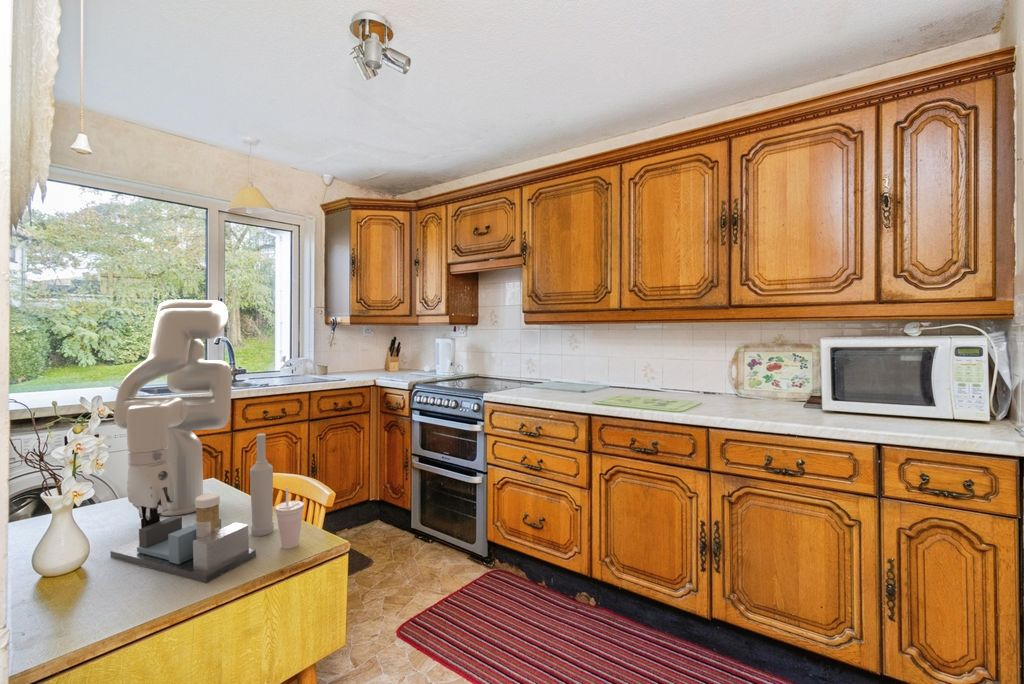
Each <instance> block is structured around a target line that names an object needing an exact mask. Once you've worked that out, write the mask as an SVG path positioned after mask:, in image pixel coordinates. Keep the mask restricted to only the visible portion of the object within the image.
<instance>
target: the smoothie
mask: <svg viewBox="0 0 1024 684" xmlns="http://www.w3.org/2000/svg"><path fill="white" fill-rule="evenodd" d="M304 509H305V502H303V501H300V500H289V487H286V488H285V501H284V502H280V503H279V504H277V505H276V506H274V513H276V517H277V518H276V519H277V527H278V531H279V538H280V544H281V548H282V549H284V550H290V549H294V548H296V547H298V546H299V544H300V536H301V535H300V534H301V526H302V517H303V512H304V511H303V510H304Z"/></svg>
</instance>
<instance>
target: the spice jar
mask: <svg viewBox="0 0 1024 684" xmlns="http://www.w3.org/2000/svg"><path fill="white" fill-rule="evenodd" d="M220 500H221V499H220V494H219V493H214V492H213V493H212V492H211V493H205V494H204V493H203V495H200V496H198V497H197V498H196V499H195V507H196V511H195V513H196V514H195V515H196V517H195V518H196V521H195V523H196V536H197V539H199V538H201V537H203V536H205V535H208V534H210V533H212V532H215V531H217V530H219V529H220V525H219V518H220V511H219V510H220V509H219V508H220V507H219V506H220V502H221V501H220Z"/></svg>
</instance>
